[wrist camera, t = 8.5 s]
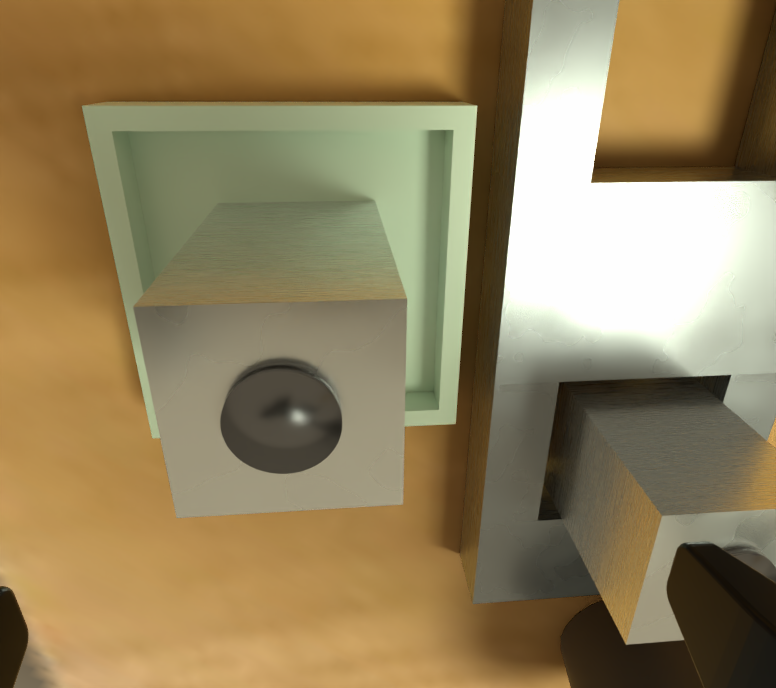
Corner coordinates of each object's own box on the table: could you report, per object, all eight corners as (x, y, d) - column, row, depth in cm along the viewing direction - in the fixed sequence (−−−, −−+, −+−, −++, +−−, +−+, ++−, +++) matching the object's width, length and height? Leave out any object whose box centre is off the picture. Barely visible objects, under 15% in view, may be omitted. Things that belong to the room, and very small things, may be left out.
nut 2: (643, 457, 23) (791, 641, 16) (533, 462, 23) (631, 654, 15) (668, 356, 21) (850, 513, 14) (548, 360, 21) (669, 525, 13)
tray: (446, 396, 21) (455, 424, 19) (166, 408, 20) (152, 438, 19) (463, 101, 17) (477, 105, 15) (107, 101, 16) (81, 106, 14)
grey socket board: (681, 540, 25) (714, 586, 23) (459, 554, 25) (472, 603, 22) (924, -251, 14) (1037, -311, 12) (527, -274, 13) (567, -344, 11)
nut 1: (376, 339, 19) (404, 514, 12) (235, 344, 19) (173, 528, 11) (374, 200, 17) (409, 305, 10) (217, 202, 17) (127, 313, 9)
